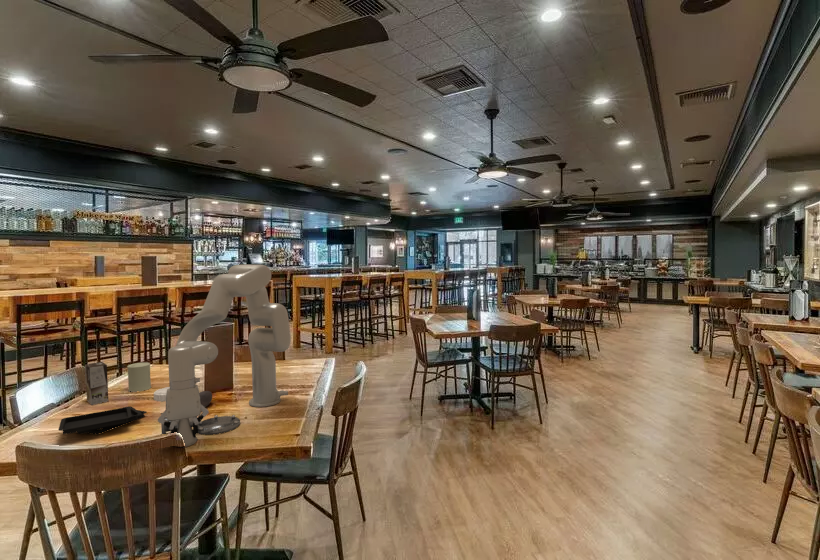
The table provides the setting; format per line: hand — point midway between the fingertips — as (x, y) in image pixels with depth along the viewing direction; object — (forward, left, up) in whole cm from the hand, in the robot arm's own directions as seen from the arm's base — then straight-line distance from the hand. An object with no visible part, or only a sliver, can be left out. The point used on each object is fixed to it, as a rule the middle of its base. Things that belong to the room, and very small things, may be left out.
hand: (184, 437), depth 142 cm
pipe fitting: (-6, -10, -2) cm, 12 cm away
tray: (+24, -30, -2) cm, 39 cm away
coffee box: (+31, -68, -2) cm, 75 cm away
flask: (0, 0, -2) cm, 2 cm away
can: (+16, -79, -2) cm, 81 cm away
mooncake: (+4, -58, -3) cm, 58 cm away
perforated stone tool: (-7, -34, -2) cm, 35 cm away
